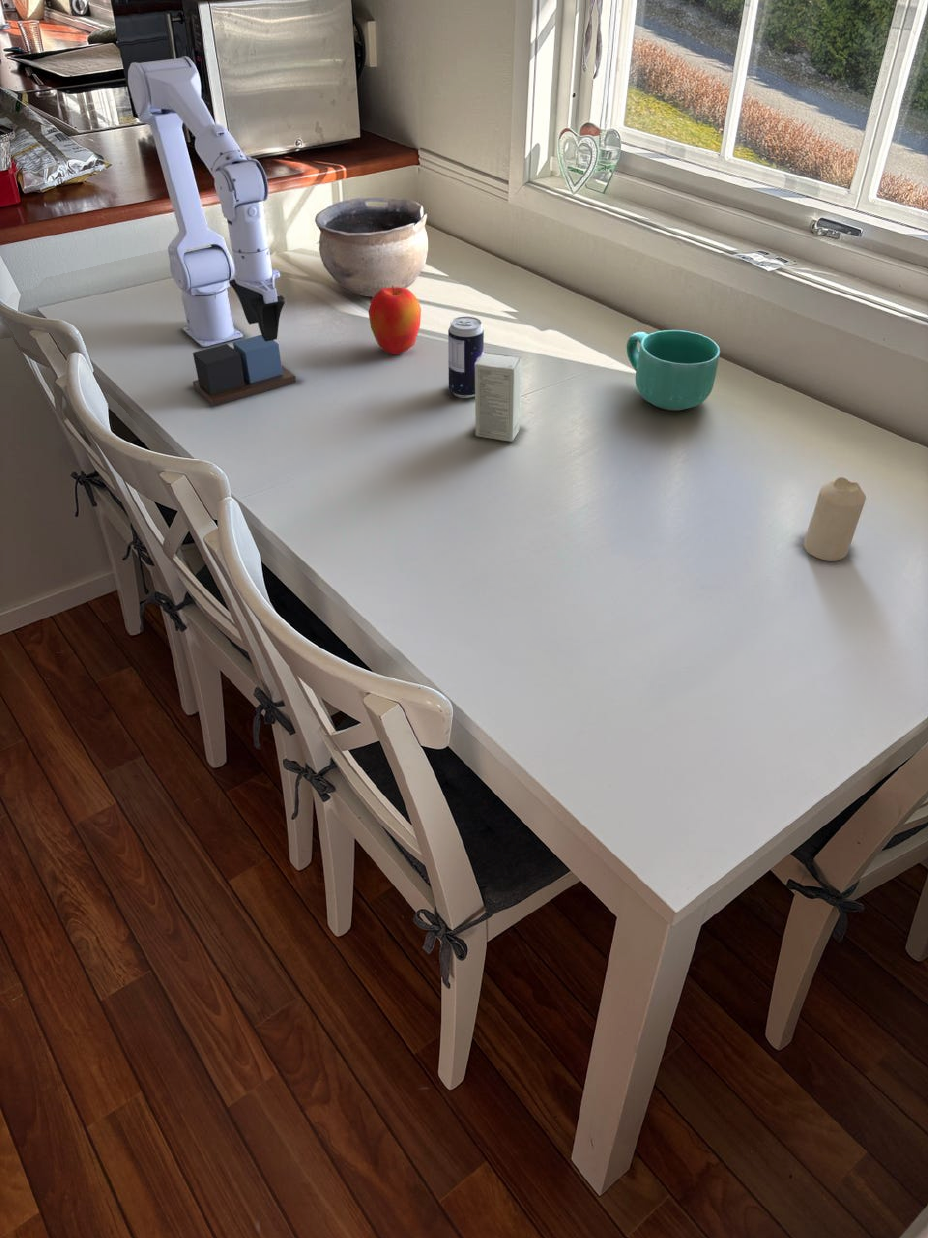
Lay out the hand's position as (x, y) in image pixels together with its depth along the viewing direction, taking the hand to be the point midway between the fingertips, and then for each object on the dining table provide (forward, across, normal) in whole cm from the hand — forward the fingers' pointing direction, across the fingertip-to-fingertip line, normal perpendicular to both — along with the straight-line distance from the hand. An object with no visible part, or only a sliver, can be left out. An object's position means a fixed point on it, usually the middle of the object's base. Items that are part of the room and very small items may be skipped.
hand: (262, 330), depth 152 cm
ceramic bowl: (+9, +27, -33) cm, 43 cm away
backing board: (+8, 0, +4) cm, 10 cm away
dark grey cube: (+7, -1, +8) cm, 11 cm away
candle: (+9, -82, -47) cm, 95 cm away
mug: (+9, -38, -55) cm, 67 cm away
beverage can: (+9, -21, -27) cm, 35 cm away
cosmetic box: (+9, -35, -25) cm, 44 cm away
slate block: (+7, 0, +2) cm, 7 cm away
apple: (+9, -1, -24) cm, 25 cm away
